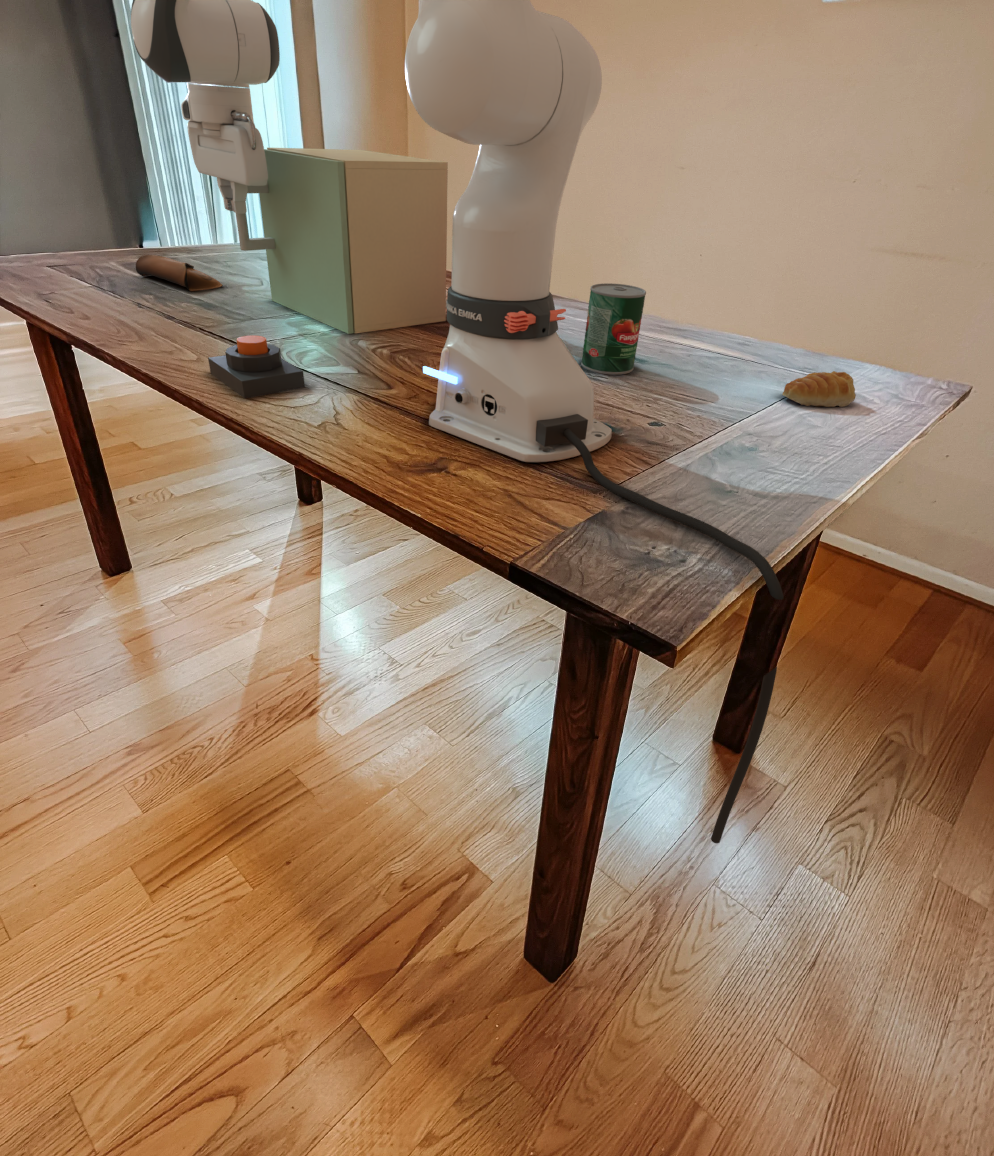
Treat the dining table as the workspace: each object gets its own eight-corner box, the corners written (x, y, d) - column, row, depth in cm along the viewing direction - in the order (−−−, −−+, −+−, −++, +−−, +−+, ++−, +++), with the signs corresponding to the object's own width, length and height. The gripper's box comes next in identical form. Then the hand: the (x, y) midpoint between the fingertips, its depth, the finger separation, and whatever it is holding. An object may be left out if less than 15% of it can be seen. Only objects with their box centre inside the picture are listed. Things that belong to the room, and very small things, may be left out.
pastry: (800, 411, 92) (809, 382, 90) (769, 394, 97) (776, 367, 95) (856, 406, 95) (866, 379, 93) (823, 390, 100) (831, 364, 98)
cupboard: (355, 334, 111) (345, 160, 98) (283, 300, 127) (266, 147, 114) (445, 321, 121) (447, 162, 108) (368, 291, 137) (362, 150, 124)
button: (272, 354, 88) (271, 340, 87) (245, 358, 86) (243, 344, 85) (261, 347, 90) (259, 334, 89) (233, 351, 88) (231, 337, 87)
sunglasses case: (227, 284, 133) (205, 253, 128) (201, 308, 131) (179, 278, 126) (175, 269, 142) (153, 240, 137) (151, 292, 140) (128, 263, 135)
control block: (305, 388, 89) (301, 356, 87) (244, 399, 85) (239, 366, 82) (268, 365, 96) (264, 335, 94) (210, 374, 91) (205, 343, 89)
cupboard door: (315, 339, 107) (300, 161, 94) (241, 304, 123) (218, 147, 110) (353, 333, 111) (343, 161, 98) (276, 300, 127) (259, 148, 114)
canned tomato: (629, 377, 100) (642, 297, 94) (576, 370, 102) (585, 291, 96) (636, 363, 106) (649, 287, 100) (586, 356, 108) (595, 281, 102)
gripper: (272, 114, 100) (283, 220, 108) (215, 107, 113) (229, 203, 121) (230, 112, 97) (244, 222, 105) (176, 105, 109) (192, 204, 117)
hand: (235, 211), depth 113 cm, fingers closed, pressing on cupboard door
